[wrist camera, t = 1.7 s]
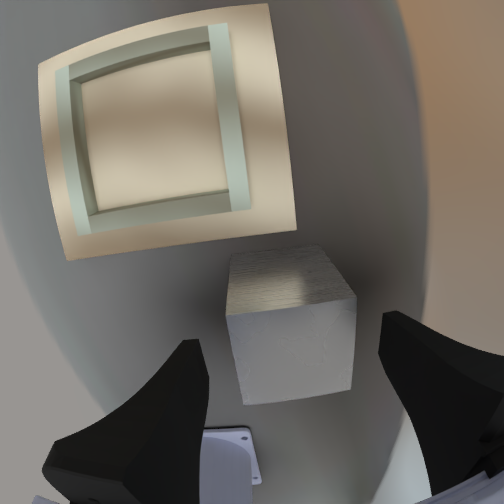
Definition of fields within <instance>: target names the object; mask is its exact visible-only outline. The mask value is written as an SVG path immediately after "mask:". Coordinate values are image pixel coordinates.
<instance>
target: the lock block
mask: <svg viewBox="0 0 504 504" xmlns="http://www.w3.org/2000/svg"><path fill="white" fill-rule="evenodd" d="M356 314H357V296H356V295H355V293H354V292H353V291H352V289H351V288H350V286H349V285H348V284H347V282H346V281H345V280H344V278H343V277H342V275H341V274H340V273H339V271H338V270H337V269H336V267H335V266H334V264H333V263H332V262H331V260H330V259H329V258H328V256H327V255H326V254H325V252H324V251H323V250H322V248H321V247H320V246H319V244H314V245H306V246H298V247H290V248H282V249H274V250H266V251H258V252H250V253H242V254H234V255H231V261H230V272H229V282H228V293H227V304H226V315H225V316H226V321H227V326H228V331H229V336H230V342H231V347H232V352H233V357H234V361H235V366H236V371H237V376H238V381H239V385H240V390H241V395H242V399H243V404H244V405H255V404H264V403H273V402H280V401H288V400H295V399H301V398H308V397H314V396H319V395H325V394H330V393H336V392H341V391H345V390H350V389H351V381H352V371H353V359H354V347H355V332H356Z"/></svg>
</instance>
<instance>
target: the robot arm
mask: <svg viewBox="0 0 504 504" xmlns="http://www.w3.org/2000/svg"><path fill="white" fill-rule="evenodd" d="M378 354H379V357H380V360H381V362H382V365H383V368H384V370H385V373H386V375H387V376H388V378H389V380H390V382H391V384H392V386H393V387H394V389H395V391H396V393H397V395H398V396H399V398H400V400H401V402H402V404H403V405H404V407H405V409H406V411H407V413H408V415H409V417H410V419H411V422H412V424H413V427H414V430H415V432H416V435H417V438H418V441H419V444H420V447H421V450H422V454H423V457H424V461H425V465H426V469H427V473H428V477H429V482H430V488H431V494H432V497H430V498H428V499H425V500H423V501H420V502H418V503H415V504H504V356H501V355H497V354H492V353H488V352H485V351H482V350H478V349H475V348H473V347H470V346H467V345H464V344H462V343H459V342H457V341H455V340H453V339H450V338H448V337H446V336H444V335H442V334H440V333H438V332H436V331H434V330H432V329H430V328H428V327H427V326H425V325H423V324H421V323H419V322H418V321H416V320H414V319H412V318H410V317H409V316H407V315H405V314H403V313H401V312H399V311H391V312H387V313H383V317H382V326H381V335H380V343H379V351H378ZM208 400H209V375H208V372H207V368H206V365H205V361H204V357H203V354H202V350H201V346H200V342H199V339H191V340H183V341H182V342H181V343H180V345H179V346H178V347H177V348H176V349H175V351H174V352H173V353H172V354H171V356H170V357H169V358H168V359H167V361H166V362H165V363H164V364H163V365H162V367H161V368H160V369H159V370H158V371H157V372H156V374H155V375H154V376H153V377H152V378H151V379H150V380H149V381H148V382H147V383H146V384H145V385H144V386H143V387H142V388H141V389H140V390H139V391H138V392H137V393H136V394H135V395H134V396H132V397H131V398H130V399H129V400H128V401H126V402H125V403H124V404H123V405H121V406H120V407H119V408H117V409H116V410H114V411H113V412H111V413H110V414H108V415H107V416H106V417H104V418H103V419H101V420H99V421H98V422H96V423H94V424H92V425H91V426H89V427H87V428H85V429H83V430H81V431H79V432H76V433H74V434H72V435H69V436H67V437H65V438H62V439H60V440H57V441H55V442H54V444H53V446H52V448H51V450H50V452H49V455H48V457H47V459H46V461H45V463H44V465H43V468H42V473H43V475H44V477H45V478H46V480H47V481H48V482H49V483H50V484H51V485H52V486H53V487H54V488H55V489H56V490H58V491H59V492H60V493H61V494H62V495H63V496H64V497H66V498H67V499H68V500H69V501H70V504H253V496H252V485H255V484H260V483H262V478H261V474H260V470H259V466H258V462H257V458H256V453H255V449H254V445H253V441H252V436H251V432H250V430H249V429H248V428H229V429H208V430H204V425H205V419H206V413H207V407H208ZM32 504H59V503H57V502H54V501H51V500H48V499H46V498H43V497H40V496H35V497H34V500H33V502H32Z"/></svg>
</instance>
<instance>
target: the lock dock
mask: <svg viewBox="0 0 504 504" xmlns="http://www.w3.org/2000/svg"><path fill="white" fill-rule="evenodd" d="M38 84H39V107H40V121H41V132H42V141H43V149H44V157H45V164H46V170H47V176H48V182H49V188H50V193H51V198H52V203H53V208H54V212H55V217H56V221H57V225H58V229H59V233H60V237H61V241H62V245H63V249H64V252H65V256H66V259H67V261H69V260H76V259H83V258H89V257H96V256H103V255H110V254H117V253H124V252H131V251H138V250H145V249H152V248H159V247H167V246H174V245H181V244H189V243H196V242H204V241H211V240H219V239H227V238H235V237H243V236H250V235H258V234H267V233H275V232H283V231H291V230H297V227H296V216H295V205H294V194H293V184H292V174H291V165H290V156H289V147H288V138H287V130H286V122H285V114H284V106H283V98H282V91H281V84H280V77H279V70H278V63H277V57H276V50H275V44H274V38H273V31H272V25H271V20H270V14H269V8H268V3H267V4H252V5H241V6H232V7H224V8H216V9H209V10H203V11H197V12H192V13H187V14H182V15H177V16H172V17H168V18H163V19H159V20H155V21H151V22H148V23H144V24H140V25H137V26H133V27H130V28H127V29H124V30H121V31H117V32H114V33H111V34H109V35H106V36H103V37H100V38H97V39H95V40H92V41H89V42H87V43H84V44H82V45H79V46H77V47H75V48H72V49H70V50H68V51H65V52H63V53H61V54H59V55H57V56H54V57H52V58H50V59H48V60H46V61H44V62H42V63H40V64H38Z"/></svg>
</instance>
